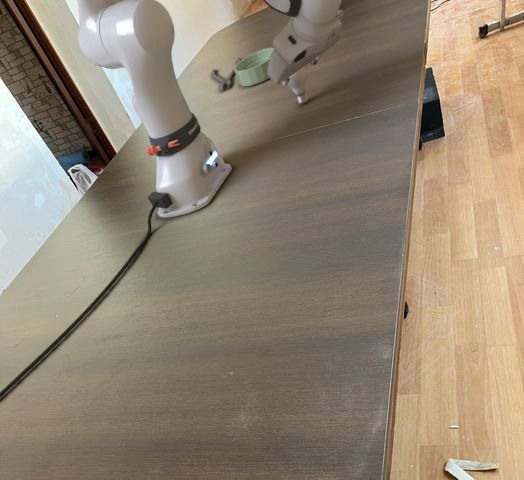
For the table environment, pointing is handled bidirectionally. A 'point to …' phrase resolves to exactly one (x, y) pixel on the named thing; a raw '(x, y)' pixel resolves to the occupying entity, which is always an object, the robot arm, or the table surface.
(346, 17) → the table surface
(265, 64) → the bowl
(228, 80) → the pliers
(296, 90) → the lightbulb
